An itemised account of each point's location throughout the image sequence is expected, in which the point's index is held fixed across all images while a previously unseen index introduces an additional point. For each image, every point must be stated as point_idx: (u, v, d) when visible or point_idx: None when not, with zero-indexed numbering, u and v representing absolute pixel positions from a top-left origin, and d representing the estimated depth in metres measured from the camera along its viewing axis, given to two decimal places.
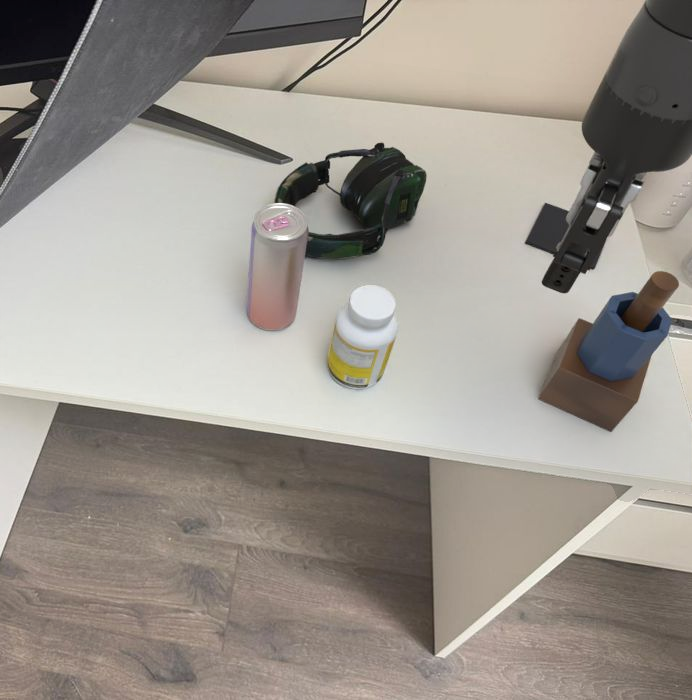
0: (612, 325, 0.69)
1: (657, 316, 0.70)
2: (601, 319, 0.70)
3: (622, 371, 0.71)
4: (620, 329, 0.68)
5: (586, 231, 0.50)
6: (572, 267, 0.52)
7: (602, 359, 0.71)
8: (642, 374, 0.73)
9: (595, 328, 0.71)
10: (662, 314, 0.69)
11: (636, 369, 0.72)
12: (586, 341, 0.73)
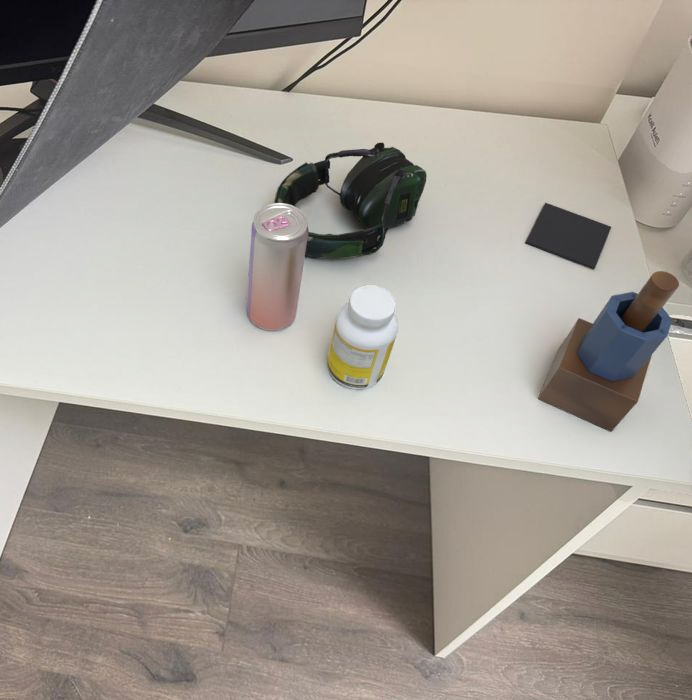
0: (612, 325, 0.69)
1: (657, 316, 0.70)
2: (601, 319, 0.70)
3: (622, 371, 0.71)
4: (620, 329, 0.68)
5: None
6: None
7: (602, 359, 0.71)
8: (642, 374, 0.73)
9: (595, 328, 0.71)
10: (662, 314, 0.69)
11: (636, 369, 0.72)
12: (586, 341, 0.73)
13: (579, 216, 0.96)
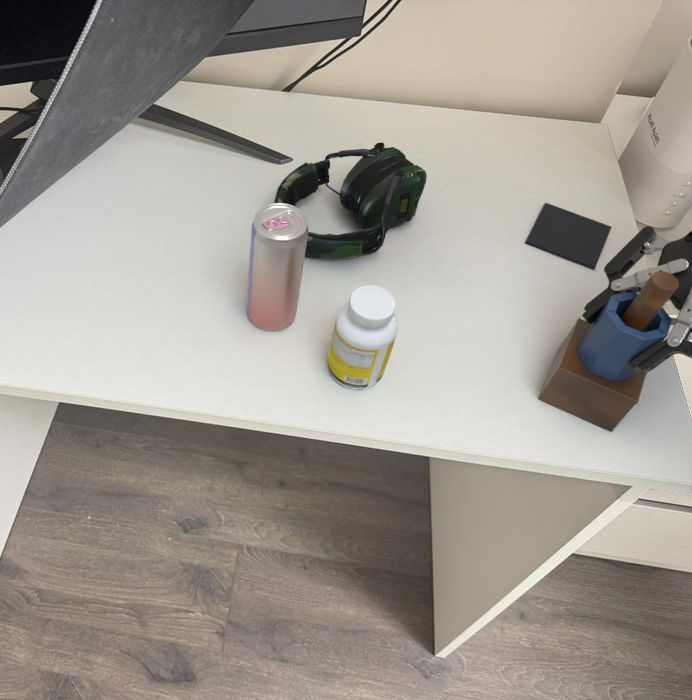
0: (612, 324, 0.69)
1: (656, 316, 0.70)
2: (601, 319, 0.70)
3: (622, 371, 0.71)
4: (620, 329, 0.68)
5: None
6: None
7: (602, 359, 0.71)
8: (642, 374, 0.73)
9: (595, 328, 0.71)
10: (662, 314, 0.69)
11: None
12: (586, 341, 0.73)
13: (579, 216, 0.96)
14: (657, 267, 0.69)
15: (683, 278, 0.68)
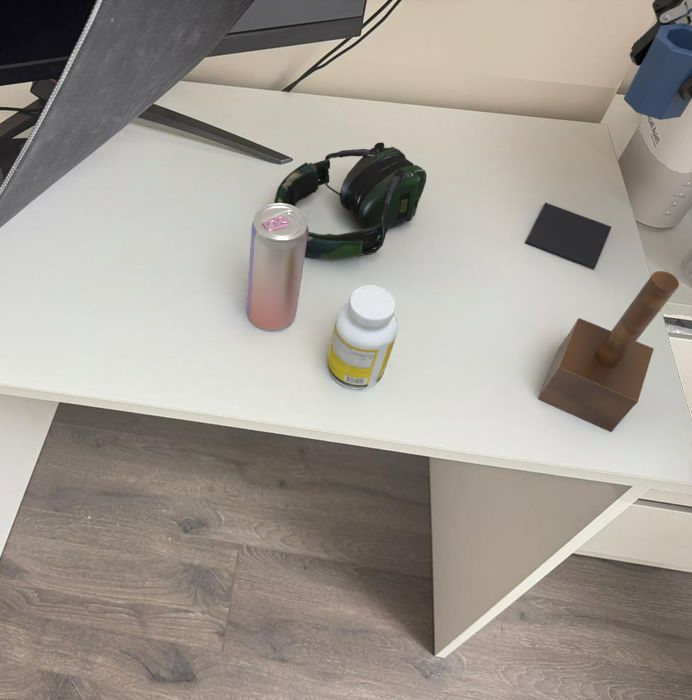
0: (663, 48, 0.69)
1: None
2: (651, 48, 0.70)
3: (671, 104, 0.72)
4: (671, 49, 0.68)
5: None
6: None
7: (651, 92, 0.72)
8: (642, 374, 0.73)
9: (644, 61, 0.71)
10: None
11: (684, 104, 0.72)
12: (634, 80, 0.73)
13: (579, 216, 0.96)
14: None
15: None
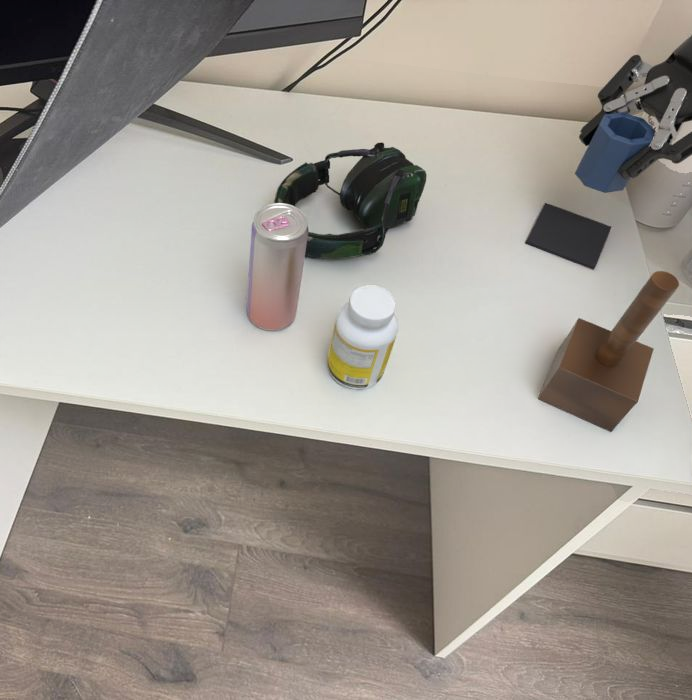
0: (604, 135, 0.81)
1: (642, 130, 0.81)
2: (595, 134, 0.82)
3: (613, 181, 0.83)
4: (611, 137, 0.80)
5: None
6: None
7: (596, 171, 0.83)
8: (642, 374, 0.73)
9: (590, 144, 0.83)
10: (647, 127, 0.81)
11: (625, 180, 0.84)
12: (582, 159, 0.85)
13: (579, 216, 0.96)
14: (643, 86, 0.81)
15: (664, 93, 0.80)
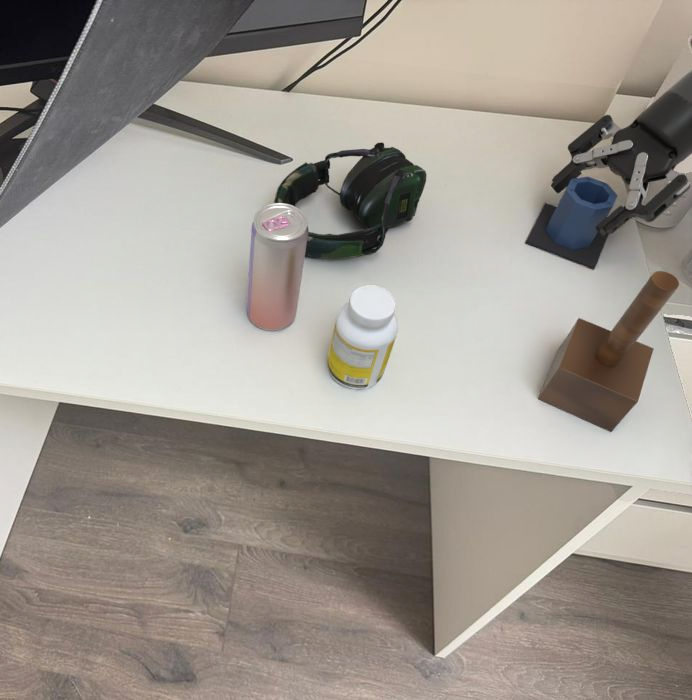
0: (571, 199, 0.88)
1: (605, 194, 0.89)
2: (562, 197, 0.90)
3: (580, 239, 0.91)
4: (576, 201, 0.88)
5: None
6: None
7: (564, 230, 0.91)
8: (642, 374, 0.73)
9: (558, 205, 0.91)
10: (610, 191, 0.89)
11: (591, 238, 0.91)
12: (552, 218, 0.93)
13: None
14: (609, 148, 0.87)
15: (629, 156, 0.86)
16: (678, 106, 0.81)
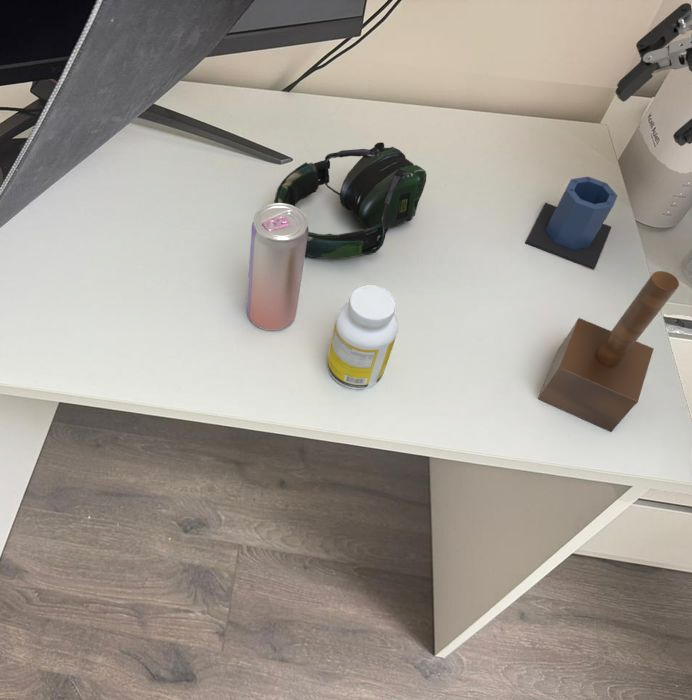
0: (571, 199, 0.88)
1: (605, 194, 0.89)
2: (562, 197, 0.90)
3: (580, 239, 0.91)
4: (576, 201, 0.88)
5: None
6: None
7: (564, 230, 0.91)
8: (642, 374, 0.73)
9: (558, 205, 0.91)
10: (610, 191, 0.89)
11: (591, 238, 0.91)
12: (552, 218, 0.93)
13: None
14: (689, 41, 0.73)
15: None
16: None
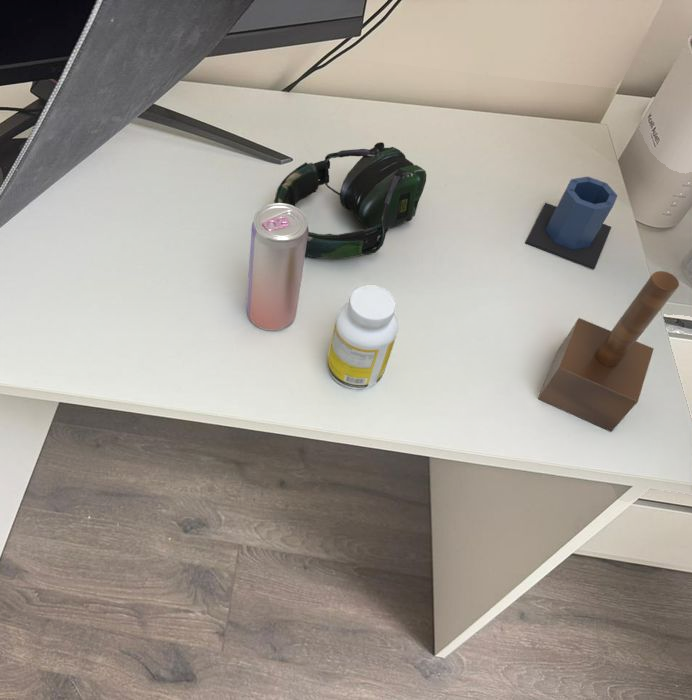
0: (571, 199, 0.88)
1: (605, 194, 0.89)
2: (562, 197, 0.90)
3: (580, 239, 0.91)
4: (576, 201, 0.88)
5: None
6: None
7: (564, 230, 0.91)
8: (642, 374, 0.73)
9: (558, 205, 0.91)
10: (610, 191, 0.89)
11: (591, 238, 0.91)
12: (552, 218, 0.93)
13: None
14: None
15: None
16: None
